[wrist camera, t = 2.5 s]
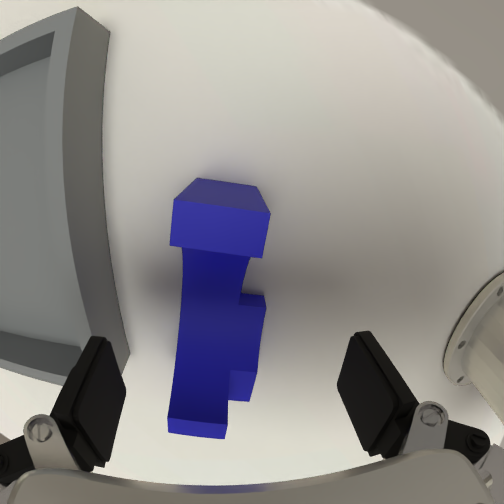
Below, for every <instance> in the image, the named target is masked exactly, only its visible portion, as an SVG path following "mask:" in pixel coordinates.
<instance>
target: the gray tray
mask: <svg viewBox="0 0 504 504" xmlns="http://www.w3.org/2000/svg"><path fill="white" fill-rule="evenodd" d="M109 35H110V31H109V30H107V29H106V28H105V27H104V26H102V25H101V24H100V23H99V22H97V21H96V20H95V19H93V18H92V17H91V16H90V15H88V14H87V13H86V12H84V11H83V10H82V9H80V8H79V7H78V6H77V7H74V8H71V9H68V10H66V11H63V12H60V13H57V14H55V15H52V16H50V17H47V18H45V19H42V20H40V21H38V22H36V23H33V24H31V25H29V26H27V27H25V28H23V29H20V30H18V31H16V32H14V33H12V34H11V35H9V36H7V37H5V38H3V39H1V40H0V368H3V369H6V370H9V371H12V372H15V373H18V374H21V375H25V376H28V377H31V378H35V379H38V380H42V381H45V382H49V383H53V384H57V385H61V386H63V385H64V383H65V381H66V379H67V377H68V375H69V373H70V371H71V369H72V368H73V367H74V366H75V365H76V363H77V361H78V359H79V357H80V356H81V354H82V352H83V350H84V348H85V346H86V344H87V342H88V340H89V338H90V337H91V336H101V337H106V339H107V341H110V342H111V344H112V347H113V351H114V354H115V357H116V361H117V364H118V367H119V370H120V373H121V375H122V373H123V370H124V368H125V365H126V363H127V360H128V358H129V356H130V352H129V348H128V344H127V340H126V336H125V332H124V328H123V323H122V319H121V314H120V310H119V305H118V300H117V294H116V289H115V283H114V278H113V272H112V265H111V258H110V251H109V244H108V236H107V227H106V217H105V205H104V192H103V172H102V109H103V91H104V78H105V67H106V58H107V50H108V42H109Z"/></svg>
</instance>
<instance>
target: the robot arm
mask: <svg viewBox="0 0 504 504" xmlns="http://www.w3.org/2000/svg"><path fill="white" fill-rule="evenodd" d="M444 372H445V374H446V376H447V377H448V379H449V380H450V381H451V383H453V384H454V385H459V386H462V385H468V384H471V383H473V384H474V386H475V387H476V388H477V389H478V391H479V392H480V393H481V395H482V396H483V397H484V399H485V400H486V401H487V403H488V404H489V405H490V407H491V408H492V409H493V411H494V412H495V414H496V415H497V416H498V418H499V419H500V421H501V422H502V423H503V425H504V273H502V274H501V275H499V276H498V277H496V278H495V279H494V280H492V281H491V282H490V283H489V284H488V285H487V286H486V287H485V288H484V289H483V290H482V291H481V292H480V294H479V295H478V296H477V297H476V298H475V300H474V301H473V302H472V304H471V305H470V306H469V308H468V309H467V311H466V312H465V314H464V315H463V317H462V318H461V320H460V322H459V324H458V325H457V327H456V329H455V331H454V333H453V335H452V337H451V339H450V341H449V344H448V347H447V350H446V353H445V359H444ZM337 389H338V392H339V394H340V396H341V399H342V401H343V403H344V405H345V408H346V410H347V412H348V415H349V417H350V419H351V422H352V424H353V426H354V429H355V431H356V433H357V436H358V438H359V440H360V443H361V445H362V448H363V450H364V451H368V453H369V456H370V457H371V456H375V455H378V454H381V455H382V457H383V460H382V461H378V462H375V463H371V464H368V465H364V466H360V467H356V468H352V469H348V470H344V471H340V472H335V473H330V474H326V475H320V476H315V477H309V478H303V479H297V480H290V481H282V482H273V483H263V484H249V485H226V486H201V485H178V484H164V483H154V482H146V481H138V480H131V479H124V478H118V477H112V476H106V475H101V474H96V473H93V472H92V471H93V469H94V466H98V467H103V468H104V467H105V463H106V462H108V461H109V460H110V457H111V453H112V448H113V444H114V440H115V435H116V431H117V427H118V423H119V419H120V415H121V412H122V408H123V404H124V400H125V397H126V387H125V384H124V382H123V379H122V376H121V373H120V370H119V367H118V364H117V361H116V357H115V354H114V351H113V347H112V344H111V342H110V341H107V339H106V337H101V336H91V337H90V338H89V340H88V342H87V344H86V346H85V348H84V350H83V352H82V354H81V356H80V357H79V359H78V361H77V363H76V365H75V366H74V367H73V368H72V369H71V371H70V373H69V375H68V377H67V379H66V381H65V383H64V385H63V387H62V390H61V392H60V394H59V396H58V398H57V400H56V402H55V405H54V407H53V409H52V411H51V414H50V416H48V415H44V414H39V415H35V416H33V417H31V418H30V419H29V420H28V421H27V422H26V424H25V425H24V429H23V432H24V435H22V436H20V437H18V438H15V439H13V440H11V441H8V442H6V443H4V444H1V445H0V504H504V449H502V448H501V447H499V446H498V445H496V444H493V445H490V439H489V437H488V435H487V434H486V433H485V432H484V431H482V430H480V429H477V428H474V427H470V426H467V425H464V424H460V423H457V422H454V421H451V420H448V414H447V411H446V410H445V408H444V407H443V406H442V405H440V404H438V403H436V402H432V401H426V402H423V403H420V404H419V402H418V401H417V399H416V398H415V396H414V395H413V393H412V392H411V390H410V389H409V387H408V386H407V384H406V383H405V381H404V380H403V378H402V377H401V375H400V374H399V372H398V371H397V369H396V368H395V366H394V365H393V363H392V362H391V360H390V359H389V357H388V356H387V355H386V353H385V352H384V350H383V349H382V347H381V346H380V344H379V343H378V342H377V340H376V339H375V337H374V336H373V334H372V333H371V332H370V331H362V332H356V333H355V334H354V336H351V338H350V341H349V344H348V348H347V352H346V355H345V358H344V362H343V365H342V368H341V372H340V375H339V378H338V381H337Z"/></svg>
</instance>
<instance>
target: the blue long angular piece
mask: <svg viewBox="0 0 504 504" xmlns="http://www.w3.org/2000/svg"><path fill="white" fill-rule="evenodd" d="M270 214H271V213H270V211H269V209H268V207H267V206H266V204H265V202H264V200H263V198H262V196H261V194H260V192H259V190H258V189H257V187H256V186H249V185H243V184H237V183H230V182H223V181H216V180H209V179H201V178H196V179H195V180H194V181H193V182H192V183H191V184H190V185H189V186H188V187H187V188H186V189H185V190H183V191H182V192H181V193H180V194H179V195H178V196H177V197H176V198H175V199H174V203H173V213H172V223H171V234H170V246H176V247H182V255H183V281H182V298H181V312H180V323H179V333H178V343H177V352H176V361H175V369H174V377H173V384H172V391H171V398H170V405H169V411H168V417H167V420H168V432H169V433H175V434H182V435H189V436H197V437H205V438H216V439H225V435H226V430H227V425H228V400H233V401H247V402H249V401H250V397H251V394H252V390H253V386H254V383H255V379H256V375H257V368H258V357H259V348H260V341H261V334H262V328H263V322H264V317H265V312H266V304H265V299H264V296H262V295H254V294H245V293H241V289H242V284H243V280H244V276H245V272H246V268H247V265H248V262H249V260H250V257H256V258H262V255H263V250H264V245H265V240H266V235H267V230H268V225H269V220H270Z"/></svg>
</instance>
